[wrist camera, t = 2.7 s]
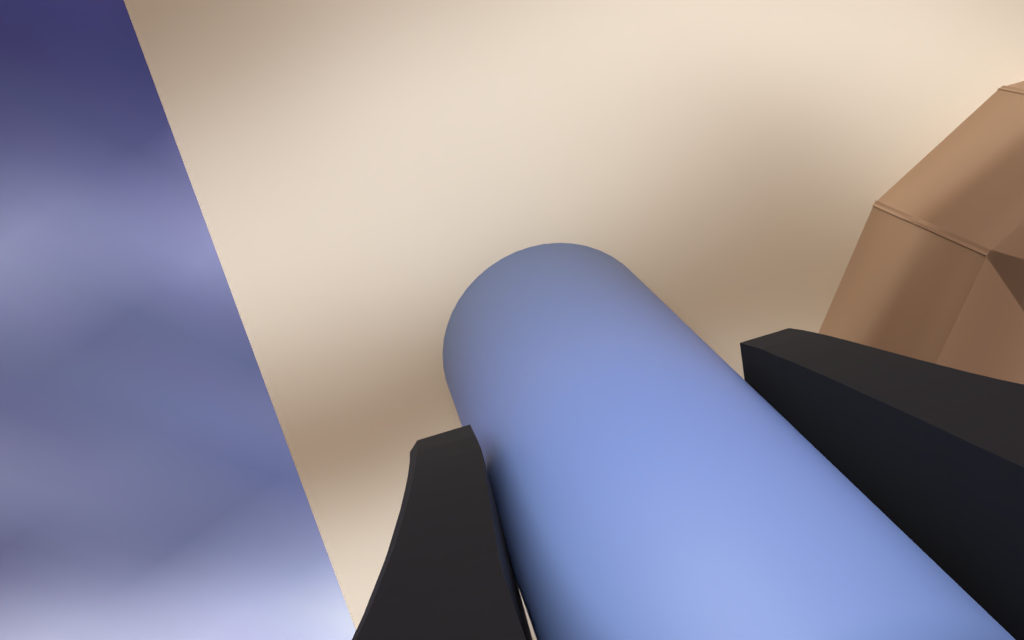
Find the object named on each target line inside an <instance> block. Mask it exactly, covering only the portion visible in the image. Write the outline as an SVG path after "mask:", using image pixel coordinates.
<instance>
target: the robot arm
mask: <svg viewBox="0 0 1024 640" xmlns="http://www.w3.org/2000/svg"><path fill="white" fill-rule="evenodd" d="M740 349H741V356H742V364H743V372H744V380H745V381H746V382H747V383H748V384H749V385H750V386H751V387H752V388H753V389H754V390H755V391H756V392H757V393H759V394H760V395H761V396H762V397H763V398H764V399H765V400H766V401H767V402H768V403H769V404H770V405H771V406H772V407H773V408H774V409H775V410H776V411H777V412H778V413H779V414H780V415H782V416H783V417H784V418H785V419H786V420H787V421H788V422H789V423H790V424H791V425H792V426H793V427H794V428H795V429H796V430H797V431H798V432H799V433H800V434H801V435H802V436H803V437H804V438H806V439H807V440H808V441H809V442H810V443H811V444H812V445H813V446H814V447H815V448H816V449H817V450H818V451H819V452H820V453H821V454H822V455H823V456H824V457H825V458H826V459H827V460H828V461H830V462H831V463H832V464H833V465H834V466H835V467H836V468H837V469H838V470H839V471H840V472H841V473H842V474H843V475H844V476H845V477H846V478H847V479H848V480H849V481H850V482H851V483H853V484H854V485H855V486H856V487H857V488H858V489H859V490H860V491H861V492H862V493H863V494H864V495H865V496H866V497H867V498H868V499H869V500H870V501H871V502H872V503H873V504H874V505H875V506H877V507H878V508H879V509H880V510H881V511H882V512H883V513H884V514H885V515H886V516H887V517H888V518H889V519H890V520H891V521H892V522H893V523H894V524H895V525H896V526H897V527H898V528H899V529H901V530H902V531H903V532H904V533H905V534H906V535H907V536H908V537H909V538H910V539H911V540H912V541H913V542H914V543H915V544H916V545H917V546H918V547H919V548H920V549H921V550H922V551H923V552H925V553H926V554H927V555H928V556H929V557H930V558H931V559H932V560H933V561H934V562H935V563H936V564H937V565H938V566H939V567H940V568H941V569H942V570H943V571H944V572H945V573H946V574H948V575H949V576H950V577H951V578H952V579H953V580H954V581H955V582H956V583H957V584H958V585H959V586H960V587H961V588H962V589H963V590H964V591H965V592H966V593H967V594H968V595H969V596H970V597H972V598H973V599H974V600H975V601H976V602H977V603H978V604H979V605H980V606H981V607H982V608H983V609H984V610H985V611H986V612H987V613H988V614H989V615H990V616H991V617H992V618H993V619H994V620H996V621H997V622H998V623H999V624H1000V625H1001V626H1002V627H1003V628H1004V629H1005V630H1006V631H1007V632H1008V633H1009V634H1010V635H1011V636H1012V637H1013V638H1014V639H1015V640H1024V384H1019V383H1014V382H1009V381H1005V380H1000V379H995V378H991V377H987V376H983V375H979V374H974V373H970V372H966V371H962V370H958V369H954V368H950V367H946V366H942V365H938V364H934V363H930V362H926V361H923V360H919V359H915V358H911V357H907V356H904V355H900V354H896V353H892V352H889V351H885V350H881V349H878V348H874V347H870V346H866V345H863V344H859V343H855V342H851V341H848V340H844V339H840V338H836V337H832V336H828V335H824V334H819V333H815V332H810V331H805V330H799V329H792V328H787V329H784V330H781V331H777V332H774V333H771V334H767V335H764V336H761V337H758V338H754V339H751V340H748V341H744V342H741V343H740ZM352 640H533V639H532V636H531V632H530V628H529V625H528V621H527V617H526V613H525V610H524V606H523V602H522V599H521V595H520V591H519V587H518V584H517V581H516V579H515V576H514V573H513V570H512V565H511V561H510V557H509V553H508V549H507V545H506V541H505V536H504V532H503V528H502V524H501V520H500V517H499V513H498V509H497V506H496V502H495V498H494V494H493V491H492V487H491V483H490V480H489V476H488V472H487V468H486V465H485V461H484V457H483V454H482V450H481V447H480V445H479V443H478V440H477V438H476V436H475V434H474V432H473V430H472V428H471V426H470V425H466V426H463V427H460V428H456V429H453V430H450V431H446V432H443V433H440V434H436V435H433V436H430V437H427V438H423V439H420V440H417V441H416V443H415V445H414V446H413V448H412V450H411V451H410V463H409V471H408V477H407V482H406V487H405V492H404V496H403V500H402V504H401V509H400V512H399V516H398V519H397V522H396V526H395V529H394V532H393V536H392V539H391V542H390V546H389V549H388V552H387V555H386V558H385V561H384V564H383V566H382V569H381V571H380V574H379V576H378V579H377V581H376V584H375V587H374V589H373V592H372V594H371V597H370V599H369V602H368V604H367V607H366V609H365V612H364V614H363V617H362V619H361V621H360V623H359V626H358V628H357V630H356V632H355V634H354V636H353V639H352Z"/></svg>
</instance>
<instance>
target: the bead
mask: <svg viewBox="0 0 1024 640" xmlns="http://www.w3.org/2000/svg"><path fill="white" fill-rule="evenodd" d="M872 206H873V208H872V210H871V212H870V215H869V217H868V219H867V221H866V224H865V226H864V228H863V231H862V233H861V235H860V238H859V240H858V242H857V245H856V247H855V249H854V252H853V254H852V256H851V259H850V261H849V263H848V266H847V268H846V270H845V272H844V275H843V277H842V279H841V282H840V284H839V286H838V289H837V291H836V293H835V296H834V298H833V300H832V303H831V305H830V307H829V310H828V312H827V314H826V317H825V319H824V321H823V323H822V326H821V328H820V330H819V334H824V335H828V336H832V337H836V338H840V339H844V340H848V341H851V342H855V343H859V344H863V345H866V346H870V347H874V348H878V349H881V350H885V351H889V352H892V353H896V354H900V355H904V356H907V357H911V358H915V359H919V360H923V361H926V362H930V363H934V364H938V365H942V366H946V367H950V368H954V369H958V370H962V371H966V372H970V373H974V374H979V375H983V376H987V377H991V378H995V379H1000V380H1005V381H1009V382H1014V383H1019V384H1024V81H1022V82H1018V83H1015V84H1011V85H1007V86H1004V85H1003V86H1002V87H1000V88H998V90H997V91H996V92H995V93H994V94H993V95H992V96H991V97H990V98H988V99H987V100H986V101H985V102H984V103H983V104H982V105H981V106H980V107H979V108H978V109H976V110H975V111H974V112H973V113H972V114H971V115H970V116H969V117H968V118H967V119H966V120H964V121H963V122H962V123H961V124H960V125H959V126H958V127H957V128H956V129H955V130H954V131H952V132H951V133H950V134H949V135H948V136H947V137H946V138H945V139H944V140H943V141H942V142H940V143H939V144H938V145H937V146H936V147H935V148H934V149H933V150H932V151H931V152H930V153H929V154H927V155H926V156H925V157H924V158H923V159H922V160H921V161H920V162H919V163H918V164H917V165H915V166H914V167H913V168H912V169H911V170H910V171H909V172H908V173H907V174H906V175H905V176H903V177H902V178H901V179H900V180H899V181H898V182H897V183H896V184H895V185H894V186H893V187H891V188H890V189H889V190H888V191H887V192H886V193H885V194H884V195H883V196H882V197H881V198H879V199H878V200H876V201H875V203H874V204H873V205H872Z"/></svg>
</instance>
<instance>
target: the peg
mask: <svg viewBox="0 0 1024 640" xmlns="http://www.w3.org/2000/svg"><path fill="white" fill-rule="evenodd" d="M442 354H443V368H444V373H445V378H446V382H447V385H448V388H449V390H450V393H451V396H452V399H453V402H454V405H455V408H456V410H457V413H458V416H459V419H460V422H461V425H462V427H463V426H466V425H470V426H471V428H472V430H473V432H474V434H475V436H476V438H477V440H478V443H479V445H480V447H481V450H482V454H483V457H484V461H485V465H486V468H487V472H488V476H489V480H490V483H491V487H492V491H493V494H494V498H495V502H496V506H497V509H498V513H499V517H500V520H501V524H502V528H503V532H504V536H505V541H506V545H507V549H508V553H509V557H510V561H511V565H512V570H513V573H514V576H515V579H516V581H517V584H518V587H519V590H520V593H521V596H522V599H523V601H524V604H525V607H526V610H527V613H528V616H529V618H530V621H531V624H532V627H533V630H534V633H535V636H536V638H537V640H1015V639H1014V638H1013V637H1012V636H1011V635H1010V634H1009V633H1008V632H1007V631H1006V630H1005V629H1004V628H1003V627H1002V626H1001V625H1000V624H999V623H998V622H997V621H996V620H994V619H993V618H992V617H991V616H990V615H989V614H988V613H987V612H986V611H985V610H984V609H983V608H982V607H981V606H980V605H979V604H978V603H977V602H976V601H975V600H974V599H973V598H972V597H970V596H969V595H968V594H967V593H966V592H965V591H964V590H963V589H962V588H961V587H960V586H959V585H958V584H957V583H956V582H955V581H954V580H953V579H952V578H951V577H950V576H949V575H948V574H946V573H945V572H944V571H943V570H942V569H941V568H940V567H939V566H938V565H937V564H936V563H935V562H934V561H933V560H932V559H931V558H930V557H929V556H928V555H927V554H926V553H925V552H923V551H922V550H921V549H920V548H919V547H918V546H917V545H916V544H915V543H914V542H913V541H912V540H911V539H910V538H909V537H908V536H907V535H906V534H905V533H904V532H903V531H902V530H901V529H899V528H898V527H897V526H896V525H895V524H894V523H893V522H892V521H891V520H890V519H889V518H888V517H887V516H886V515H885V514H884V513H883V512H882V511H881V510H880V509H879V508H878V507H877V506H875V505H874V504H873V503H872V502H871V501H870V500H869V499H868V498H867V497H866V496H865V495H864V494H863V493H862V492H861V491H860V490H859V489H858V488H857V487H856V486H855V485H854V484H853V483H851V482H850V481H849V480H848V479H847V478H846V477H845V476H844V475H843V474H842V473H841V472H840V471H839V470H838V469H837V468H836V467H835V466H834V465H833V464H832V463H831V462H830V461H828V460H827V459H826V458H825V457H824V456H823V455H822V454H821V453H820V452H819V451H818V450H817V449H816V448H815V447H814V446H813V445H812V444H811V443H810V442H809V441H808V440H807V439H806V438H804V437H803V436H802V435H801V434H800V433H799V432H798V431H797V430H796V429H795V428H794V427H793V426H792V425H791V424H790V423H789V422H788V421H787V420H786V419H785V418H784V417H783V416H782V415H780V414H779V413H778V412H777V411H776V410H775V409H774V408H773V407H772V406H771V405H770V404H769V403H768V402H767V401H766V400H765V399H764V398H763V397H762V396H761V395H760V394H759V393H757V392H756V391H755V390H754V389H753V388H752V387H751V386H750V385H749V384H748V383H747V382H746V381H745V380H744V379H743V378H742V377H741V376H740V375H739V374H738V373H737V372H736V371H735V370H733V369H732V368H731V367H730V366H729V365H728V364H727V363H726V362H725V361H724V360H723V359H722V358H721V357H720V356H719V355H718V354H717V353H716V352H715V351H714V350H713V349H712V348H711V347H709V346H708V345H707V344H706V343H705V342H704V341H703V340H702V339H701V338H700V337H699V336H698V335H697V334H696V333H695V332H694V331H693V330H692V329H691V328H690V327H689V326H688V325H687V324H685V323H684V322H683V321H682V320H681V319H680V318H679V317H678V316H677V315H676V314H675V313H674V312H673V311H672V310H671V309H670V308H669V307H668V306H667V305H666V304H665V303H664V302H662V301H661V300H660V299H659V298H658V297H657V296H656V295H655V294H654V293H653V292H652V291H651V290H650V289H649V288H648V287H647V286H646V285H645V284H644V283H643V282H642V281H641V280H640V279H638V278H637V277H636V276H635V275H634V274H633V273H632V272H631V271H630V270H629V269H628V268H627V267H626V266H625V265H624V264H622V263H621V262H619V261H618V260H617V259H615V258H614V257H612V256H610V255H608V254H606V253H604V252H602V251H600V250H597V249H594V248H591V247H588V246H584V245H578V244H573V243H550V244H542V245H537V246H532V247H528V248H526V249H523V250H520V251H517V252H514V253H512V254H510V255H508V256H506V257H504V258H502V259H501V260H499V261H498V262H496V263H494V264H493V265H491V266H490V267H489V268H487V269H486V270H485V271H484V272H483V273H481V274H480V275H479V276H478V277H477V278H476V279H475V280H474V281H473V282H472V283H471V284H470V286H469V287H468V288H467V289H466V290H465V292H464V293H463V295H462V296H461V297H460V299H459V300H458V302H457V304H456V306H455V308H454V310H453V312H452V314H451V316H450V319H449V322H448V324H447V328H446V332H445V336H444V342H443V353H442Z"/></svg>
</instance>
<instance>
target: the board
mask: <svg viewBox="0 0 1024 640" xmlns="http://www.w3.org/2000/svg"><path fill="white" fill-rule="evenodd" d="M124 2H125V5H126V8H127V10H128V13H129V16H130V19H131V21H132V24H133V27H134V29H135V32H136V35H137V38H138V40H139V43H140V46H141V48H142V51H143V54H144V57H145V59H146V62H147V65H148V67H149V70H150V73H151V76H152V78H153V81H154V84H155V86H156V89H157V92H158V94H159V97H160V100H161V103H162V105H163V108H164V111H165V113H166V116H167V119H168V122H169V124H170V127H171V130H172V132H173V135H174V138H175V141H176V143H177V146H178V149H179V151H180V154H181V157H182V160H183V162H184V165H185V168H186V170H187V173H188V176H189V179H190V181H191V184H192V187H193V189H194V192H195V195H196V198H197V200H198V203H199V206H200V208H201V211H202V214H203V217H204V219H205V222H206V225H207V227H208V230H209V233H210V236H211V238H212V241H213V244H214V246H215V249H216V252H217V255H218V257H219V260H220V263H221V265H222V268H223V271H224V274H225V276H226V279H227V282H228V284H229V287H230V290H231V292H232V295H233V298H234V301H235V303H236V306H237V309H238V311H239V314H240V317H241V320H242V322H243V325H244V328H245V330H246V333H247V336H248V339H249V341H250V344H251V347H252V349H253V352H254V355H255V358H256V360H257V363H258V366H259V368H260V371H261V374H262V377H263V379H264V382H265V385H266V387H267V390H268V393H269V396H270V398H271V401H272V404H273V406H274V409H275V412H276V415H277V417H278V420H279V423H280V425H281V428H282V431H283V434H284V436H285V439H286V442H287V444H288V447H289V450H290V453H291V455H292V458H293V461H294V463H295V466H296V469H297V471H298V474H299V477H300V480H301V482H302V485H303V488H304V490H305V493H306V496H307V499H308V501H309V504H310V507H311V509H312V512H313V515H314V518H315V520H316V523H317V526H318V528H319V531H320V534H321V537H322V539H323V542H324V545H325V547H326V550H327V553H328V556H329V558H330V561H331V564H332V566H333V569H334V572H335V575H336V577H337V580H338V583H339V585H340V588H341V591H342V594H343V596H344V599H345V602H346V604H347V607H348V610H349V613H350V615H351V618H352V621H353V623H354V626H355V629H356V630H357V628H358V626H359V623H360V621H361V619H362V617H363V614H364V612H365V609H366V607H367V604H368V602H369V599H370V597H371V594H372V592H373V589H374V587H375V584H376V581H377V579H378V576H379V574H380V571H381V569H382V566H383V564H384V561H385V558H386V555H387V552H388V549H389V546H390V542H391V539H392V536H393V532H394V529H395V526H396V522H397V519H398V516H399V512H400V509H401V504H402V500H403V496H404V492H405V487H406V482H407V477H408V471H409V463H410V451H411V450H412V448H413V446H414V445H415V443H416V441H417V440H420V439H423V438H427V437H430V436H433V435H436V434H440V433H443V432H446V431H450V430H453V429H456V428H460V427H462V425H461V422H460V419H459V416H458V413H457V410H456V408H455V405H454V402H453V399H452V396H451V393H450V390H449V388H448V385H447V382H446V378H445V373H444V368H443V354H442V353H443V342H444V336H445V332H446V328H447V324H448V322H449V319H450V316H451V314H452V312H453V310H454V308H455V306H456V304H457V302H458V300H459V299H460V297H461V296H462V295H463V293H464V292H465V290H466V289H467V288H468V287H469V286H470V284H471V283H472V282H473V281H474V280H475V279H476V278H477V277H478V276H479V275H480V274H481V273H483V272H484V271H485V270H486V269H487V268H489V267H490V266H491V265H493V264H494V263H496V262H498V261H499V260H501V259H502V258H504V257H506V256H508V255H510V254H512V253H514V252H517V251H520V250H523V249H526V248H528V247H532V246H537V245H542V244H550V243H573V244H578V245H584V246H588V247H591V248H594V249H597V250H600V251H602V252H604V253H606V254H608V255H610V256H612V257H614V258H615V259H617V260H618V261H619V262H621V263H622V264H624V265H625V266H626V267H627V268H628V269H629V270H630V271H631V272H632V273H633V274H634V275H635V276H636V277H637V278H638V279H640V280H641V281H642V282H643V283H644V284H645V285H646V286H647V287H648V288H649V289H650V290H651V291H652V292H653V293H654V294H655V295H656V296H657V297H658V298H659V299H660V300H661V301H662V302H664V303H665V304H666V305H667V306H668V307H669V308H670V309H671V310H672V311H673V312H674V313H675V314H676V315H677V316H678V317H679V318H680V319H681V320H682V321H683V322H684V323H685V324H687V325H688V326H689V327H690V328H691V329H692V330H693V331H694V332H695V333H696V334H697V335H698V336H699V337H700V338H701V339H702V340H703V341H704V342H705V343H706V344H707V345H708V346H709V347H711V348H712V349H713V350H714V351H715V352H716V353H717V354H718V355H719V356H720V357H721V358H722V359H723V360H724V361H725V362H726V363H727V364H728V365H729V366H730V367H731V368H732V369H733V370H735V371H736V372H737V373H738V374H739V375H740V376H741V377H742V378H743V379H744V372H743V364H742V356H741V349H740V343H741V342H744V341H748V340H751V339H754V338H758V337H761V336H764V335H767V334H771V333H774V332H777V331H781V330H784V329H787V328H792V329H799V330H805V331H810V332H815V333H819V330H820V328H821V326H822V323H823V321H824V319H825V317H826V314H827V312H828V310H829V307H830V305H831V303H832V300H833V298H834V296H835V293H836V291H837V289H838V286H839V284H840V282H841V279H842V277H843V275H844V272H845V270H846V268H847V266H848V263H849V261H850V259H851V256H852V254H853V252H854V249H855V247H856V245H857V242H858V240H859V238H860V235H861V233H862V231H863V228H864V226H865V224H866V221H867V219H868V217H869V215H870V212H871V210H872V208H873V206H872V205H873V204H874V203H875V201H876V200H878V199H879V198H881V197H882V196H883V195H884V194H885V193H886V192H887V191H888V190H889V189H890V188H891V187H893V186H894V185H895V184H896V183H897V182H898V181H899V180H900V179H901V178H902V177H903V176H905V175H906V174H907V173H908V172H909V171H910V170H911V169H912V168H913V167H914V166H915V165H917V164H918V163H919V162H920V161H921V160H922V159H923V158H924V157H925V156H926V155H927V154H929V153H930V152H931V151H932V150H933V149H934V148H935V147H936V146H937V145H938V144H939V143H940V142H942V141H943V140H944V139H945V138H946V137H947V136H948V135H949V134H950V133H951V132H952V131H954V130H955V129H956V128H957V127H958V126H959V125H960V124H961V123H962V122H963V121H964V120H966V119H967V118H968V117H969V116H970V115H971V114H972V113H973V112H974V111H975V110H976V109H978V108H979V107H980V106H981V105H982V104H983V103H984V102H985V101H986V100H987V99H988V98H990V97H991V96H992V95H993V94H994V93H995V92H996V91H997V90H998V88H1000V87H1002V86H1003V85H1004V86H1007V85H1011V84H1015V83H1018V82H1022V81H1024V0H124ZM519 591H520V590H519ZM520 595H521V593H520ZM521 599H522V596H521ZM522 602H523V606H524V610H525V613H526V617H527V621H528V625H529V628H530V632H531V636H532V639H533V640H537V638H536V636H535V633H534V630H533V627H532V624H531V621H530V618H529V616H528V613H527V610H526V607H525V604H524V601H523V599H522Z"/></svg>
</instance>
